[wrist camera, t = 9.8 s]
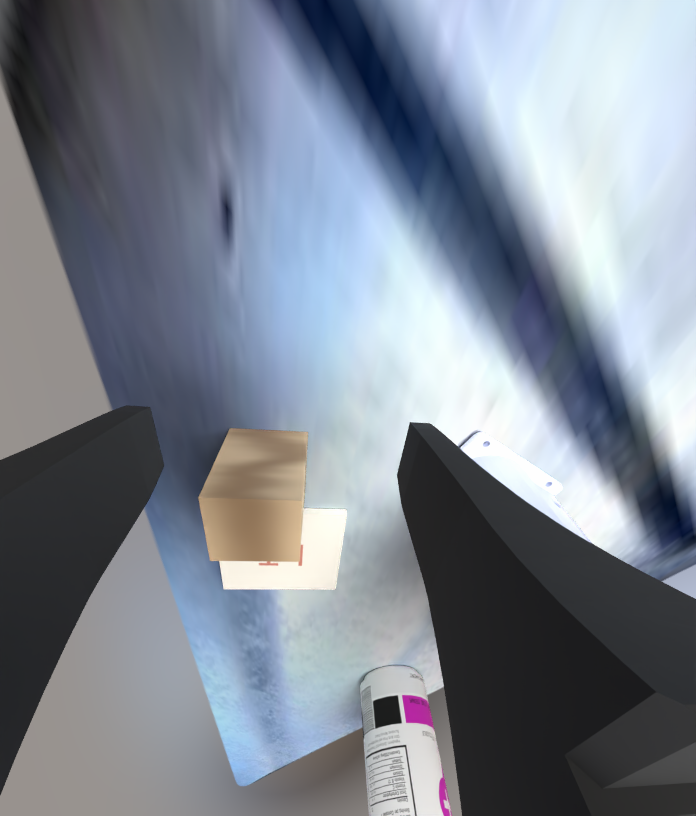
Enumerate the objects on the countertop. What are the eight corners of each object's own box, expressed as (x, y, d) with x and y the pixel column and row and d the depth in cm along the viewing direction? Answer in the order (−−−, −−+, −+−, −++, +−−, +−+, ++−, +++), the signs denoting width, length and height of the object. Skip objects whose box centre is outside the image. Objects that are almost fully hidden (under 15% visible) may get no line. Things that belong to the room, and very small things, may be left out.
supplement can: (427, 661, 40) (474, 871, 27) (416, 688, 44) (452, 881, 32) (362, 664, 39) (380, 880, 27) (357, 691, 44) (370, 889, 31)
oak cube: (308, 431, 21) (302, 500, 16) (305, 487, 24) (299, 561, 19) (230, 427, 21) (198, 497, 16) (235, 484, 23) (210, 560, 18)
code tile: (346, 509, 25) (346, 515, 25) (335, 583, 30) (335, 589, 30) (213, 505, 24) (211, 511, 24) (225, 582, 29) (223, 589, 29)
